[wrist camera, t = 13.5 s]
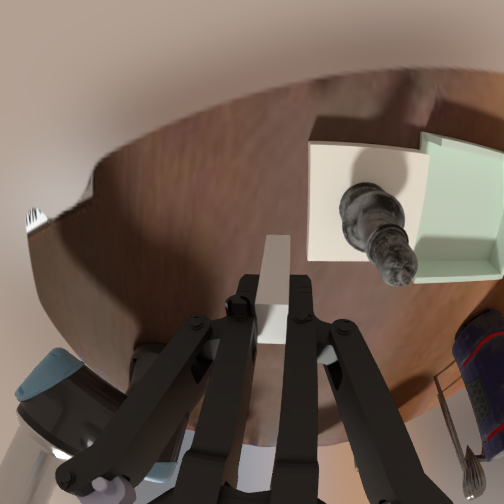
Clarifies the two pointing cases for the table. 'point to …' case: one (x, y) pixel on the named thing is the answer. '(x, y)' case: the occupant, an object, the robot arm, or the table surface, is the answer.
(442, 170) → the box
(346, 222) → the dark grey tall piece
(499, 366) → the grenade
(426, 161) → the white square slab
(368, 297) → the table surface
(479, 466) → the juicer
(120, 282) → the table surface
